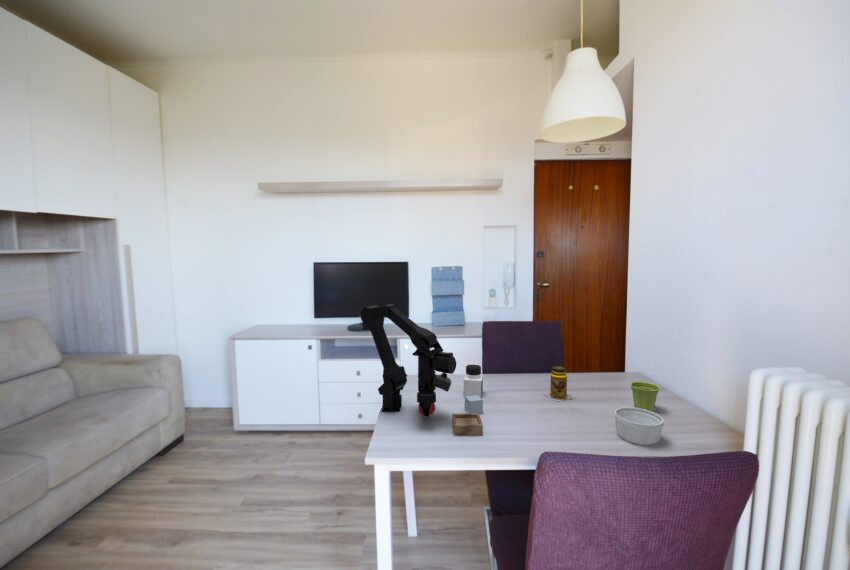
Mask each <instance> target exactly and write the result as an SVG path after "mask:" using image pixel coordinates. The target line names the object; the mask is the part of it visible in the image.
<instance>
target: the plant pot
mask: <svg viewBox="0 0 850 570" xmlns="http://www.w3.org/2000/svg"><path fill="white" fill-rule="evenodd" d="M629 386H630V388H631V390H632V391H631V392H632V400H633V407H634V408H640V409H645V410H648V411H651V412H654V411H655V405H656V401H657V397H658V394H659V391H660V390H661V387H660V386H658V385H656V384H653V383H649V382H645V381H632V382H630V383H629Z"/></svg>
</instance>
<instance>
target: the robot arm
mask: <svg viewBox="0 0 850 570" xmlns="http://www.w3.org/2000/svg"><path fill="white" fill-rule="evenodd" d="M359 317H360V319H361V321H362V324H363V325H364V326H365V327H366V328H367V330H369V332H370V333H371V337H372V339H373V341H374V344H375V348H376V351H377V353H378V356H379V359H380V362H381V364H382V367H383V371H382V382H383V383H382V384H381V385H380V386H379V387H378V388H377V391H378V394H379V395H381V396H382V409H381V412H383V413H384V412H387V413H388V412H389V413H390V412H401V408H402V405H403V402H402V401H403V397H402V394H401V391H403V390H404V388H405V386H406V384H407V382H408V379H407V378H408V374H407V372H406V369H405V367H404V366H403V365H402V366H400V365H399V364H398V363H397V362H396V359H395V356H394V353H393V350H392V347H391V345H390V341H389V338H388V337H387V334H386V331H385V329H384V326H385V325H384V324H385V317H386V318H388V319H389V320H390V321H391V322H392V323H393V324H395V326H397V327H398V328H399V329H401V331H402V332H404V333H405V334H406V335H408V337H409V339H410V342H411V343H412V345H413V346H414V348H416V350H415V351H414V352H413V353H411V354H412V356H415V357H417V365H418V366H417V391H418V392H417V393H416V402H417V403H418V405H419V404H420V406H421V409H422V411H423V413H424V415H425V416H424V417H425V418H426V417H428V416H429V411H430V406H431V403H434V404H435V403H436V402H437V395H436V391H435V390H436V389H439V390H440V389H441V390H442V391H444V392H449V390H450V388H451V386H452V380H451V379H450V377H448V374H450V375H453V374H454V373H455V372H456V371H455V370H456V369H457V361H456V360H457V359H456V357H454V353H453V352H450V351H449V352H447V351H444V349H443V347H442V346H441V343H439V341H438V337H437V335H436V334H435V332H433V331H431V330H429V329H428V328H424V327H422V326H420V325H418V324H417V323H415V322H414V321H413V320H412V319H410V318H409V317H408V316H407V315H406V314H404V313H403V312H402V311H401V309H398V308H397V306H396V305H395V304H393V303H390V304H385V305H383V306H379V305H371V306H365V307H363V308H362V309H361V310H360V313H359ZM436 372H438V373H441V374H436ZM429 417H430V416H429ZM429 417H428V418H429Z"/></svg>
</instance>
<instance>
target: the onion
mask: <svg viewBox="0 0 850 570" xmlns="http://www.w3.org/2000/svg"><path fill="white" fill-rule="evenodd" d="M435 411H436V404H435V403H431V406H430V411H429V416H428V417H425V415H424V413H423V411H422V409H421V406H420V404H419V403H418V412H419V414H420V415H422V416H423V417H425V418H427V419H428V418H429V417H431V416H432V415H433V414H434V412H435Z"/></svg>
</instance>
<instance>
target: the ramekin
mask: <svg viewBox="0 0 850 570" xmlns="http://www.w3.org/2000/svg"><path fill="white" fill-rule="evenodd" d="M614 419H615V429H616V433H617V434H618V436H619V437H620V438H621V439H623V440H624V441H626V442H628V443H631V444H634V445H639V446H654V445H656V444H657V443H659V442H660V440H661V436H662V431H663V427H664V424H665V420H664V418H663V417H662V416H661V415H660V414H658V413H656V412H654V411H648V410H645V409H640V408H635V407H634V406H633V407H632V406H624V407H619V408H616V409H615V410H614Z"/></svg>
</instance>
